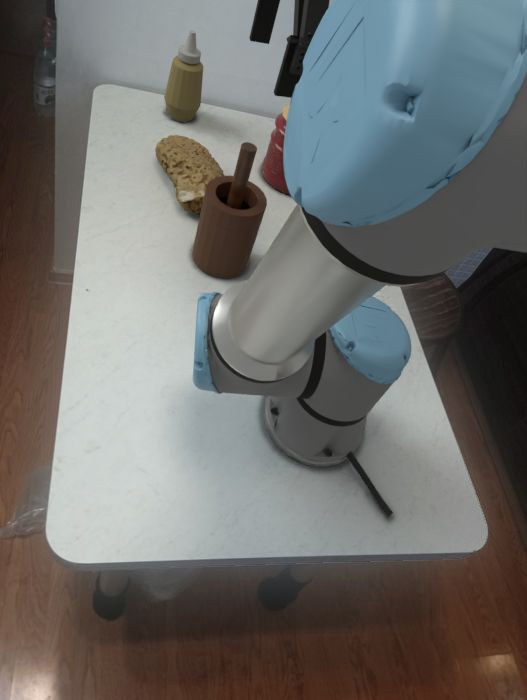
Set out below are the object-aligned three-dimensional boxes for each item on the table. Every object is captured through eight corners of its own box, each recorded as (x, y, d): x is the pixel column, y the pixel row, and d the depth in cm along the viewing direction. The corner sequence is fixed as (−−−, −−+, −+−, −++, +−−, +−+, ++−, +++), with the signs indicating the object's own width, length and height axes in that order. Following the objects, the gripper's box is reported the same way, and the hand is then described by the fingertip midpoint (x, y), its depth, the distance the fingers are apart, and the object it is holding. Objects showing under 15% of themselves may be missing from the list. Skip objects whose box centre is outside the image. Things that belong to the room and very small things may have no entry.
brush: (221, 244, 98) (249, 136, 81) (235, 258, 97) (267, 151, 80) (204, 251, 96) (230, 142, 79) (219, 265, 95) (248, 157, 78)
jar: (257, 261, 99) (278, 200, 88) (224, 287, 93) (242, 225, 82) (215, 231, 101) (231, 168, 90) (180, 255, 95) (192, 190, 84)
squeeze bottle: (192, 129, 119) (206, 47, 106) (157, 117, 119) (167, 32, 105) (202, 113, 125) (217, 31, 111) (168, 100, 124) (179, 17, 110)
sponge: (229, 224, 105) (218, 146, 113) (231, 198, 98) (220, 116, 106) (160, 227, 103) (155, 148, 111) (157, 200, 96) (152, 117, 104)
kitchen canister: (248, 166, 116) (270, 88, 103) (290, 155, 124) (316, 80, 110) (287, 203, 112) (315, 126, 99) (328, 189, 119) (360, 115, 106)
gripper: (263, -187, 60) (224, 17, 76) (331, -111, 46) (267, 118, 62) (324, -167, 62) (274, 26, 78) (405, -89, 49) (325, 124, 65)
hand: (271, 67), depth 70 cm, fingers open, 13 cm apart
